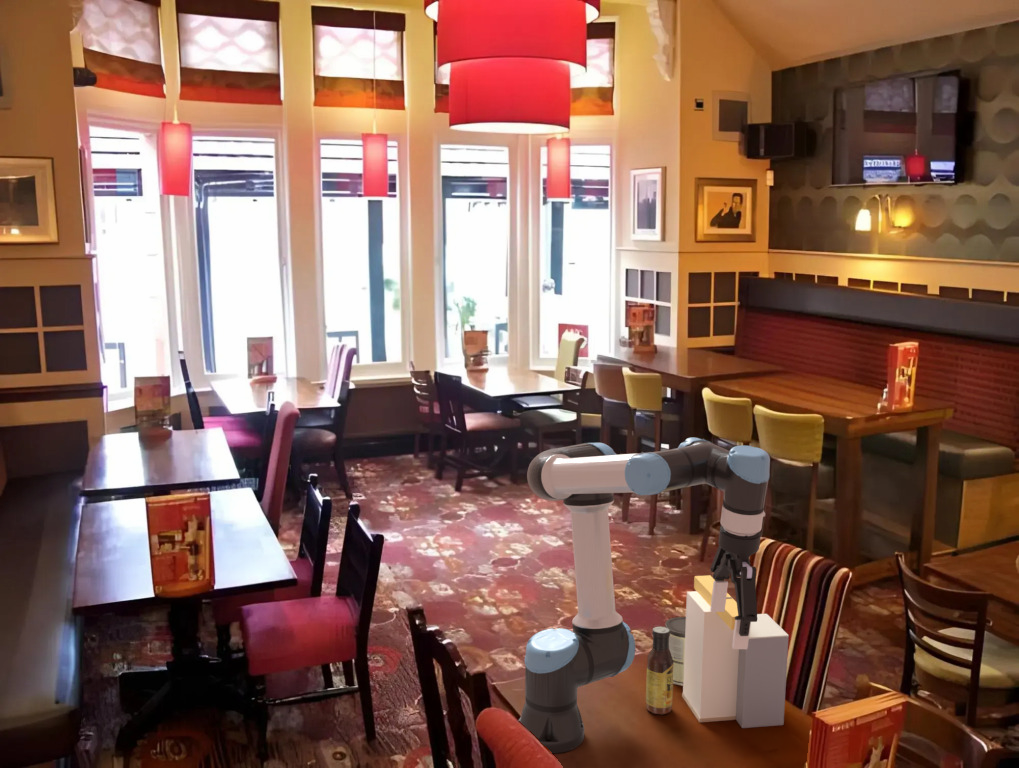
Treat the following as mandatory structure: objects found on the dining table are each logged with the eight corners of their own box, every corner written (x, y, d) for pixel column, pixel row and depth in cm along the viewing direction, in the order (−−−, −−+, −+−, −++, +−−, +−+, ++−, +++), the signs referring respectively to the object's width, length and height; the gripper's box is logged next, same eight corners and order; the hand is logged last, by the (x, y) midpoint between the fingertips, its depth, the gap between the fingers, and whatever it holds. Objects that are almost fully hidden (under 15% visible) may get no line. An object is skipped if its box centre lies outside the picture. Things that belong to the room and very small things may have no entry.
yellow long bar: (749, 628, 201) (750, 615, 200) (731, 629, 200) (731, 616, 200) (709, 587, 224) (710, 574, 224) (693, 587, 224) (694, 575, 223)
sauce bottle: (671, 717, 216) (674, 637, 213) (644, 714, 217) (647, 635, 214) (672, 703, 222) (675, 625, 219) (646, 700, 224) (648, 623, 220)
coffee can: (675, 663, 243) (677, 613, 240) (711, 675, 236) (713, 623, 234) (656, 678, 235) (657, 626, 232) (692, 690, 228) (695, 637, 226)
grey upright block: (783, 724, 213) (788, 635, 209) (742, 728, 211) (746, 637, 208) (762, 699, 224) (766, 613, 221) (722, 701, 223) (726, 616, 219)
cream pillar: (738, 719, 215) (743, 610, 211) (699, 722, 214) (703, 612, 209) (718, 693, 227) (723, 589, 223) (681, 696, 226) (685, 591, 221)
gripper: (785, 558, 161) (770, 665, 167) (738, 501, 185) (726, 596, 191) (743, 558, 160) (729, 665, 166) (701, 501, 184) (691, 596, 190)
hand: (728, 629), depth 178 cm, fingers open, 13 cm apart
